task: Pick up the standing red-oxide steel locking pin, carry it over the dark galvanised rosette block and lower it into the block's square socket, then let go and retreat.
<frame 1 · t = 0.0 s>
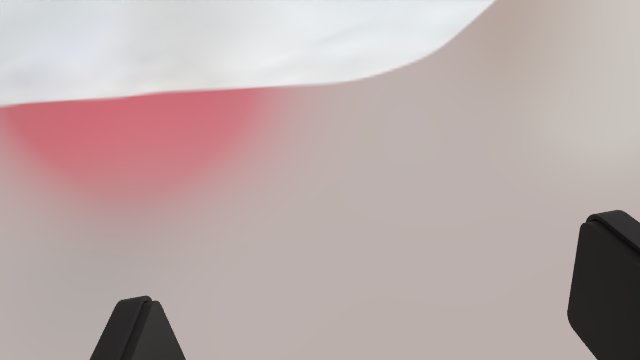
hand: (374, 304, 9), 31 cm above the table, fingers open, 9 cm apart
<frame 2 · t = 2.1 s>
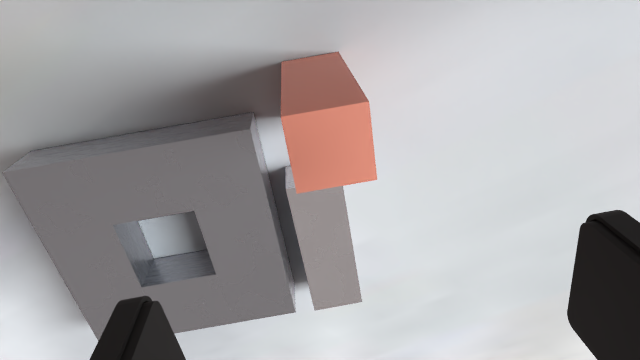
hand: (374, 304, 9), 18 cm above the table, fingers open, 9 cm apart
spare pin: (322, 221, 31), on the table
rosette block: (177, 224, 29), on the table
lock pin: (314, 85, 26), on the table
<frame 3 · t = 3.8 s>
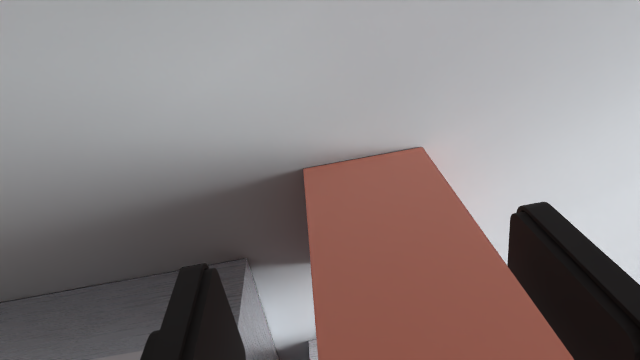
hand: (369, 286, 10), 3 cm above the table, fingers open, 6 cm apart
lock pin: (369, 208, 13), on the table
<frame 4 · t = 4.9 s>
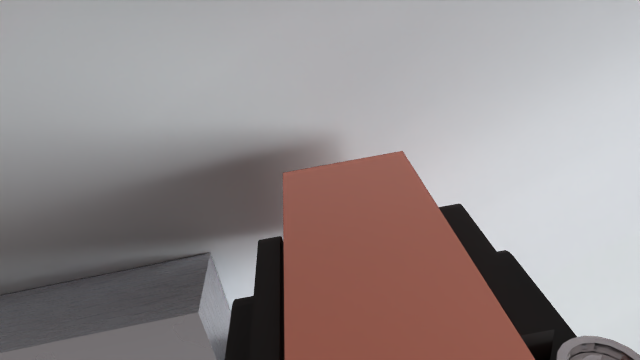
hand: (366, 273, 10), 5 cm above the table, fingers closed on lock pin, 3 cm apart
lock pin: (350, 212, 13), point 2 cm above the table, touching gripper
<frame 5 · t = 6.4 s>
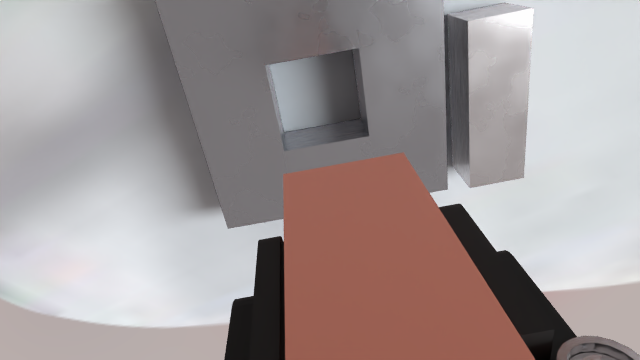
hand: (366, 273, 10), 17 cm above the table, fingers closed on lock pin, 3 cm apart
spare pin: (474, 90, 27), on the table
rosette block: (316, 87, 26), on the table
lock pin: (350, 214, 13), point 15 cm above the table, touching gripper
when the fingers open (4 cm above the table, at t = 8.3 s): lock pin drops 2 cm, resting in rosette block.
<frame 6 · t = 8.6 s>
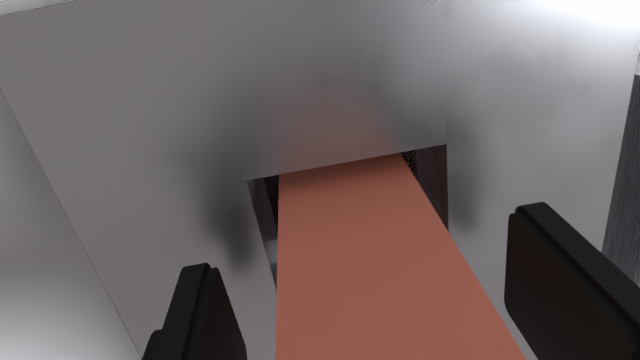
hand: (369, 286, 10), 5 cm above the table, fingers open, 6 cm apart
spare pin: (620, 188, 15), on the table
rosette block: (343, 191, 14), on the table
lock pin: (340, 186, 14), resting in rosette block
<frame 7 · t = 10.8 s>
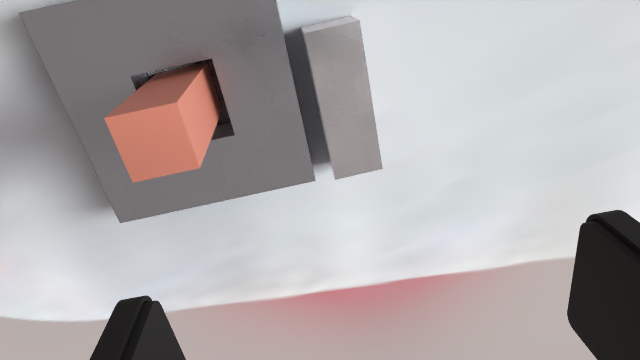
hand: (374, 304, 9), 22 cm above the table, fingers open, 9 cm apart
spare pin: (339, 93, 30), on the table
rosette block: (192, 94, 29), on the table
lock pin: (190, 91, 29), resting in rosette block
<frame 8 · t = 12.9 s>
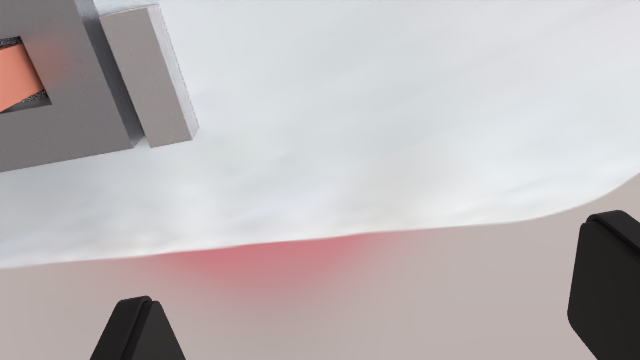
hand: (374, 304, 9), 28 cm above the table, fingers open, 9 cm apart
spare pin: (160, 72, 34), on the table
rosette block: (25, 68, 33), on the table
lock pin: (22, 66, 33), resting in rosette block
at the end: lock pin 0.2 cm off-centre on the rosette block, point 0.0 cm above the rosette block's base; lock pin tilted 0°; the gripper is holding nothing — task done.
